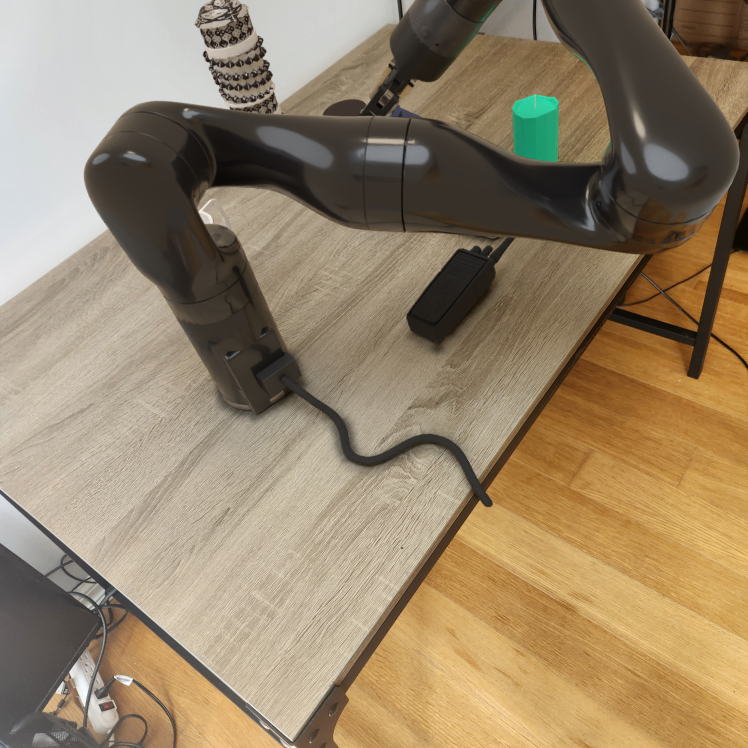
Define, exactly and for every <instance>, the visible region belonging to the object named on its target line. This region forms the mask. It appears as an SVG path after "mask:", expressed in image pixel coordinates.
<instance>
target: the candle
mask: <svg viewBox="0 0 748 748" xmlns="http://www.w3.org/2000/svg"><path fill="white" fill-rule="evenodd" d="M511 112H512V113H511V115H512V141H513V153H514V154H517V155H520V156H523V157H526V158H531V159H536V160H542V161H551V162H559V121H560V120H559V119H560V117H559V115H560V114H559V113H560V101H559V100H558V99H557V97H556V96H547V95H543V94H537V93H534V94H531V95H529V96H527V97H524V98H522V99H518V100H516V101H514V103H513V106H512V108H511Z"/></svg>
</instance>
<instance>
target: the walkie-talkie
mask: <svg viewBox="0 0 748 748" xmlns="http://www.w3.org/2000/svg"><path fill="white" fill-rule="evenodd" d="M515 240H516V238H511V237H505V239H503V241H502V242H501V243H500V244H499V245H498V246H497V247H496V248H495V249H494V248H493V246H491V245H485V247H483V249H482V248H481V247H480V246H479V245H473V246H472V248H471V249H470V250H469V249H467V248H465V247H461V248H458V249H456V250H455V251H454V253H452V255H451V256H450V257H449V259H448V260H447V261H446V262H445V264H444V265H442V268H441V269H440V271H438V272H437V273H436V274H435V275H434V277H433V278H432V279H431V281H430V282H428V284H427V286H426V287H425V288H424V290H423V291H422V293H421V294H420V295H419V297H418V298H417V299H416V301H415V302H414V304H413V305H412V306H411V307H410V308H409V310H408V311H407V313H406V315H405V316H406V322H407V324H408V328H409V331H410V332H412V333H414V334H416V335H418V336H420V337H423V338H424V339H427V340H428V341H430V342H433V343H435V344H437V345H438V344H439V345H440V344H441V343H443V341H444V340H445V339H446V338H447V336H448V335H449V334H450V333H451V332H452V331H453V330H454V328H455V327H456V326H457V325H458V324H459V323H460V322H461V320H463V318H464V317H465V316H466V315H467V314H468V312H469V311H470V310H471V309H472V308H473V306H474V305H475V304H477V302H478V301H479V300H480V298H481V297H482V296H483V295H484V294H485V293H486V291H487V290H488V289H489V287H491V285H492V283H493V281H494V280H495V279H496V276H497V271H496V265H497V264H498V263H499V262H500V260H501V259H502V257H503V256H504V254H505V253H506V251H507V250H508V248H509V247H510V246H511V245H512V243H513V242H514V241H515Z"/></svg>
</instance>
